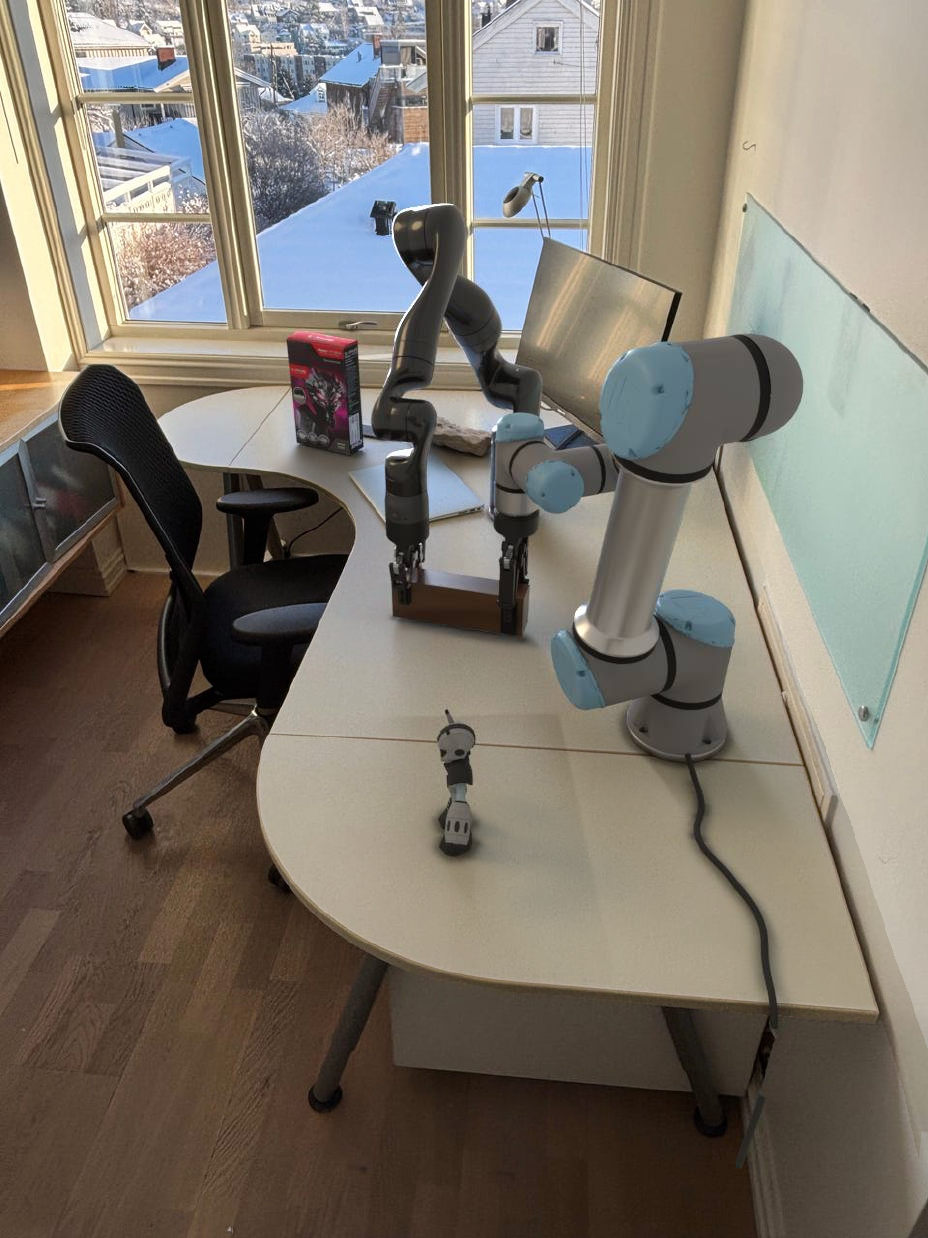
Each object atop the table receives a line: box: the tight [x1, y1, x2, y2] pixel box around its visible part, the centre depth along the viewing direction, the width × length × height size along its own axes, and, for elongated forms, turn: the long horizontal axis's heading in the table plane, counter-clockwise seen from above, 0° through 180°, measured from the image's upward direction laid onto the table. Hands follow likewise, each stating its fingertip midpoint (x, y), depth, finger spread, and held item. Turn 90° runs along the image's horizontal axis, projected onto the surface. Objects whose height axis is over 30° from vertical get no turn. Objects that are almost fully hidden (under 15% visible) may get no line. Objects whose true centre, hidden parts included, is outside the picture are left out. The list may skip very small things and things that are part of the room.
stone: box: [432, 416, 492, 457], centre depth 232 cm, size 21×15×6 cm
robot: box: [436, 708, 477, 857], centre depth 119 cm, size 20×5×20 cm, turn 3°
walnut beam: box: [390, 568, 531, 638], centre depth 164 cm, size 5×24×8 cm, turn 75°
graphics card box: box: [285, 330, 365, 456], centre depth 225 cm, size 17×7×27 cm, turn 62°
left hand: (409, 595), depth 167 cm, fingers closed on walnut beam, 5 cm apart
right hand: (511, 624), depth 164 cm, fingers closed on walnut beam, 5 cm apart
